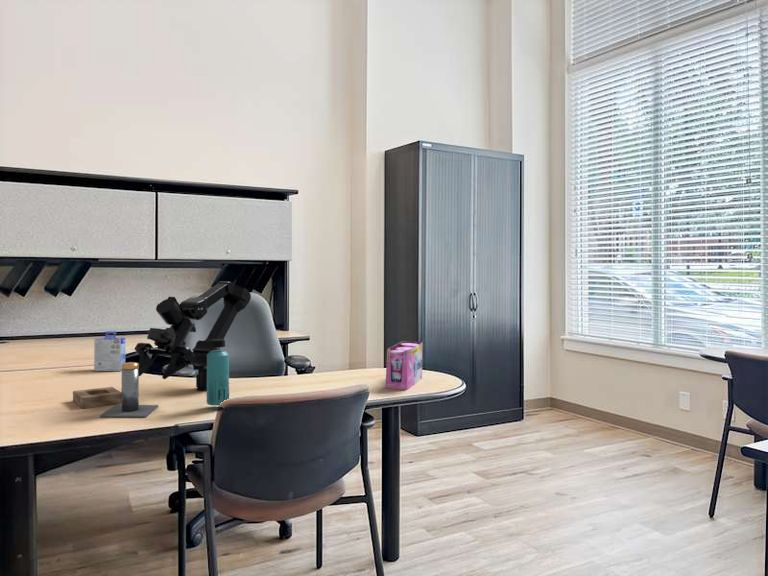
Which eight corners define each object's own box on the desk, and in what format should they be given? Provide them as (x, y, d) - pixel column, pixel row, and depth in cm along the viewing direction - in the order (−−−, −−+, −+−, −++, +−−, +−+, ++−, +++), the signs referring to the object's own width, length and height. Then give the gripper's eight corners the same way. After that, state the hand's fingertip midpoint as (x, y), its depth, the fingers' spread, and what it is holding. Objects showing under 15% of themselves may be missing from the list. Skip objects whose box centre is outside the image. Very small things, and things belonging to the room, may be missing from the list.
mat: (158, 406, 179) (158, 404, 178) (145, 417, 167) (145, 415, 167) (115, 406, 178) (115, 404, 178) (99, 417, 166) (99, 415, 166)
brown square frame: (112, 396, 190) (112, 386, 190) (122, 403, 182) (122, 393, 182) (73, 401, 183) (72, 391, 183) (82, 408, 175) (82, 398, 175)
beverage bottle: (217, 412, 174) (217, 341, 173) (200, 408, 178) (201, 339, 177) (234, 407, 180) (234, 338, 179) (218, 404, 183) (218, 337, 182)
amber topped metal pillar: (136, 407, 175) (136, 361, 175) (140, 410, 171) (140, 364, 171) (120, 409, 173) (120, 362, 172) (123, 412, 169) (123, 365, 168)
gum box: (406, 391, 207) (407, 350, 206) (383, 389, 209) (384, 349, 208) (422, 378, 230) (423, 341, 229) (401, 376, 232) (402, 340, 231)
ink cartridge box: (126, 368, 236) (126, 331, 235) (121, 371, 231) (121, 332, 230) (99, 368, 235) (99, 330, 234) (93, 371, 230) (93, 332, 229)
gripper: (138, 315, 186) (110, 357, 177) (189, 319, 180) (162, 363, 170) (157, 338, 194) (131, 380, 185) (206, 342, 187) (181, 386, 178)
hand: (150, 376), depth 179 cm, fingers open, 9 cm apart
